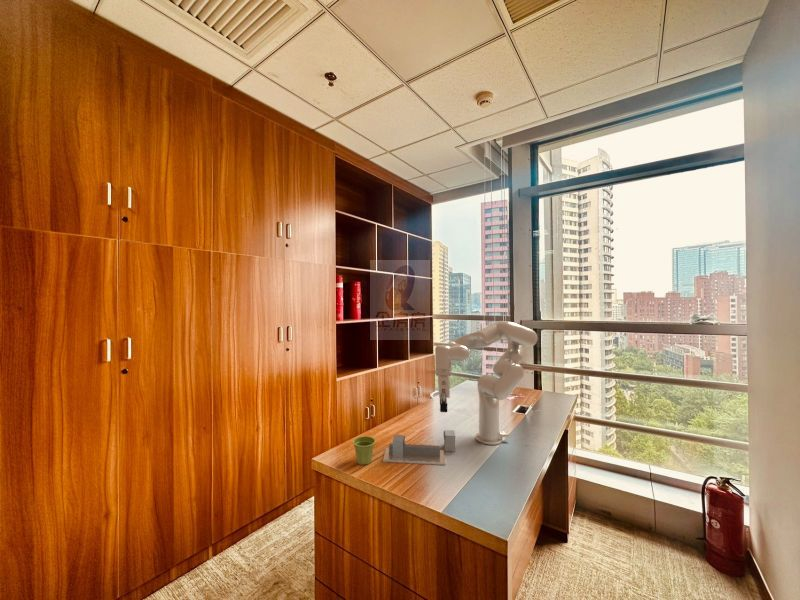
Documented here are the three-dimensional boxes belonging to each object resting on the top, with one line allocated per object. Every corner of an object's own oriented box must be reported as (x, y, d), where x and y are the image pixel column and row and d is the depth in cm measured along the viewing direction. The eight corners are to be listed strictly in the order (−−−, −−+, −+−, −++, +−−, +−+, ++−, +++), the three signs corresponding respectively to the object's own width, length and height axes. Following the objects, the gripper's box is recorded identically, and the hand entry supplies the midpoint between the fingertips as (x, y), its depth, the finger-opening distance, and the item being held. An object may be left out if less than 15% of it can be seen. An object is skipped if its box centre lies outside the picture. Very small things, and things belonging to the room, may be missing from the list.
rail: (443, 452, 141) (443, 434, 141) (445, 465, 130) (445, 445, 130) (386, 449, 143) (386, 431, 143) (383, 461, 132) (383, 442, 132)
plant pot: (366, 469, 126) (366, 448, 126) (348, 463, 131) (348, 442, 131) (379, 459, 134) (379, 439, 134) (362, 454, 139) (362, 434, 139)
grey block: (453, 445, 148) (454, 430, 148) (455, 451, 142) (455, 435, 142) (443, 444, 148) (443, 429, 149) (444, 450, 143) (444, 435, 143)
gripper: (452, 376, 138) (452, 415, 138) (450, 367, 155) (450, 402, 155) (435, 376, 139) (435, 414, 139) (435, 367, 156) (435, 402, 156)
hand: (443, 408), depth 147 cm, fingers open, 9 cm apart
